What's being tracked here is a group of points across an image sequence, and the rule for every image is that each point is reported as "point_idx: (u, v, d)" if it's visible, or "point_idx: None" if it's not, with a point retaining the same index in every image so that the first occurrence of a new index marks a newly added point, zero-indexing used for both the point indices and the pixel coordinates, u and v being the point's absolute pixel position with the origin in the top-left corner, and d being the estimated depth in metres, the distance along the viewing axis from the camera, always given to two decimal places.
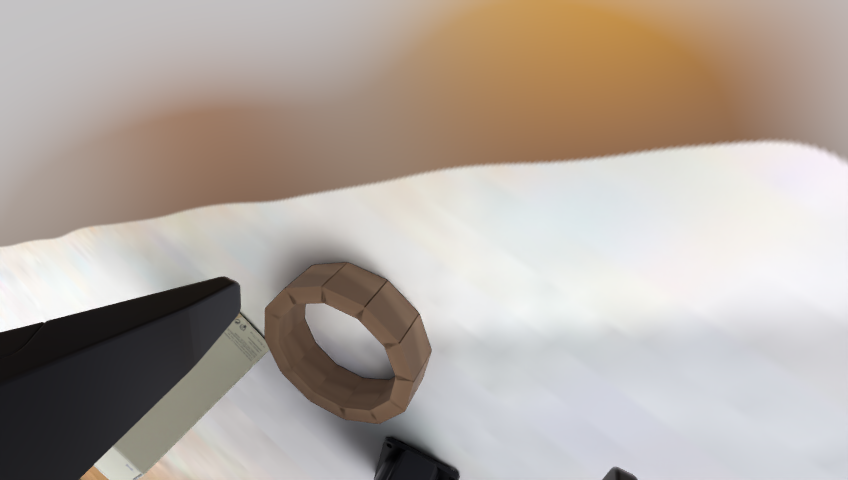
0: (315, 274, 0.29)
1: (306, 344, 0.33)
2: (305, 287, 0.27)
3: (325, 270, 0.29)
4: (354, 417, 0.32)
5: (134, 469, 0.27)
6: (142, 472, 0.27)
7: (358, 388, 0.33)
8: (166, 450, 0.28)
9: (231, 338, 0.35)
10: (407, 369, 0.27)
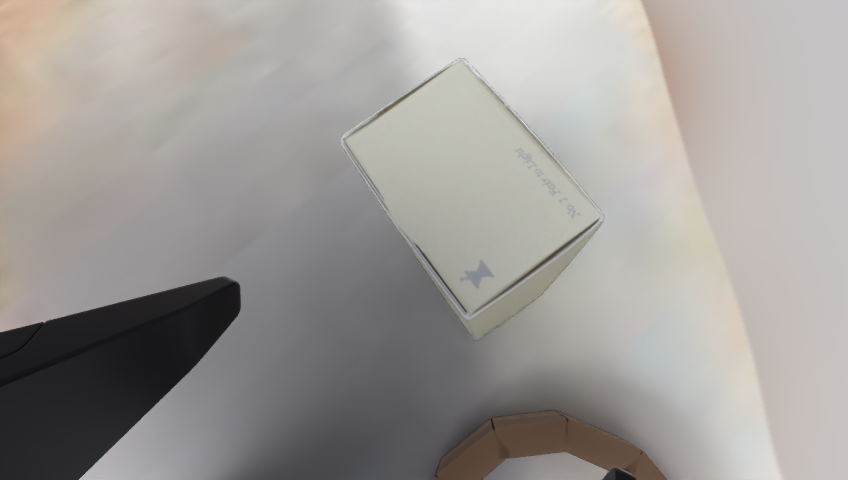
0: None
1: None
2: None
3: None
4: None
5: (477, 293, 0.10)
6: (472, 318, 0.10)
7: None
8: (471, 324, 0.12)
9: (525, 304, 0.20)
10: None
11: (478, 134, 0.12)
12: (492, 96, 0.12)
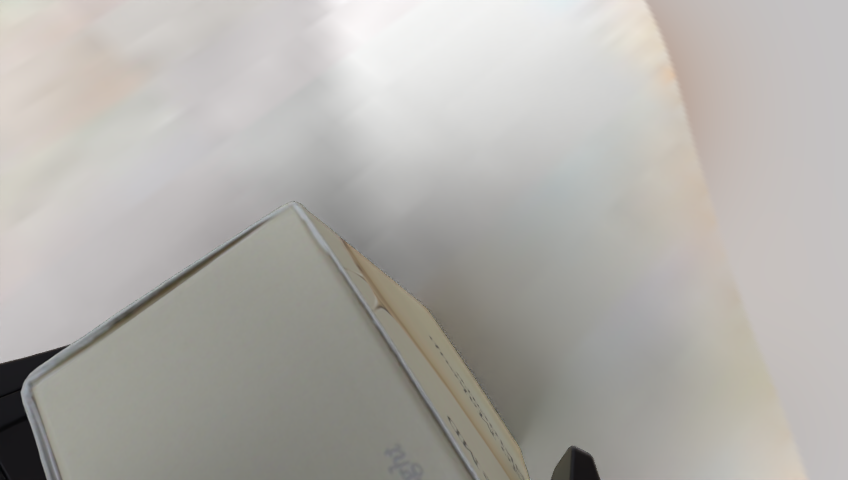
0: None
1: None
2: None
3: None
4: None
5: None
6: None
7: None
8: None
9: None
10: None
11: (305, 398, 0.05)
12: (350, 298, 0.05)
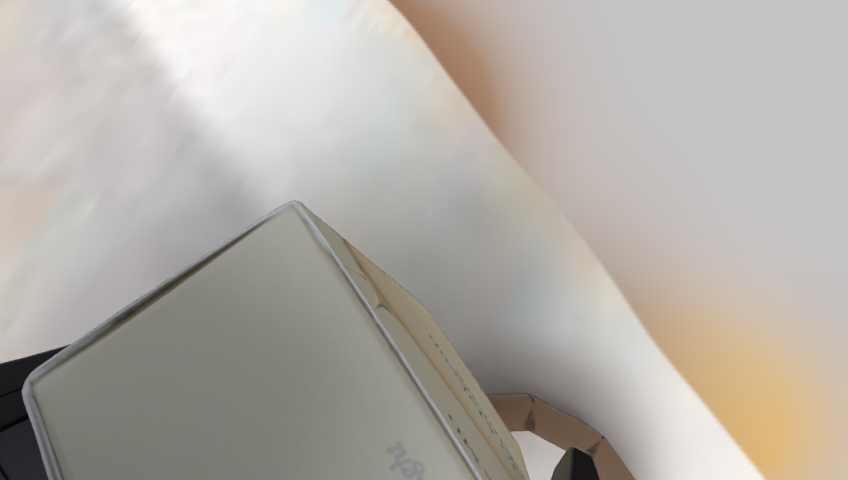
0: None
1: None
2: (632, 478, 0.17)
3: None
4: None
5: None
6: None
7: None
8: None
9: None
10: None
11: (306, 397, 0.05)
12: (350, 297, 0.05)
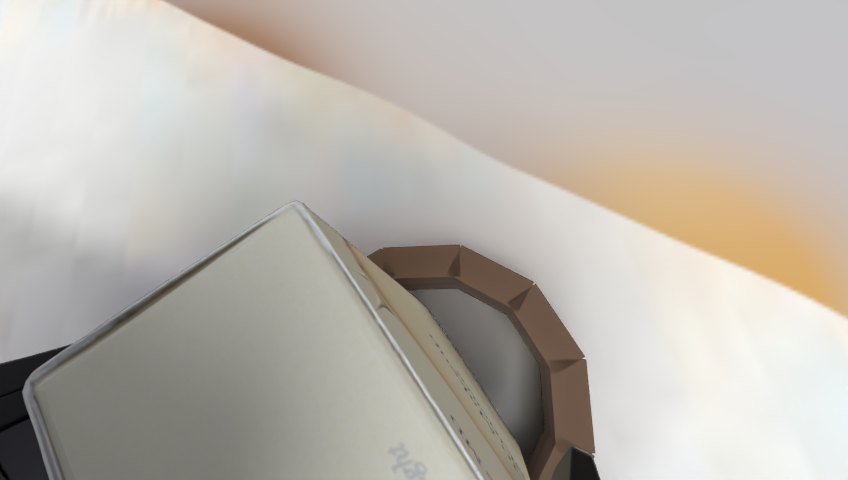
0: None
1: None
2: (502, 267, 0.16)
3: None
4: None
5: None
6: None
7: None
8: None
9: None
10: None
11: (309, 397, 0.05)
12: (354, 297, 0.05)
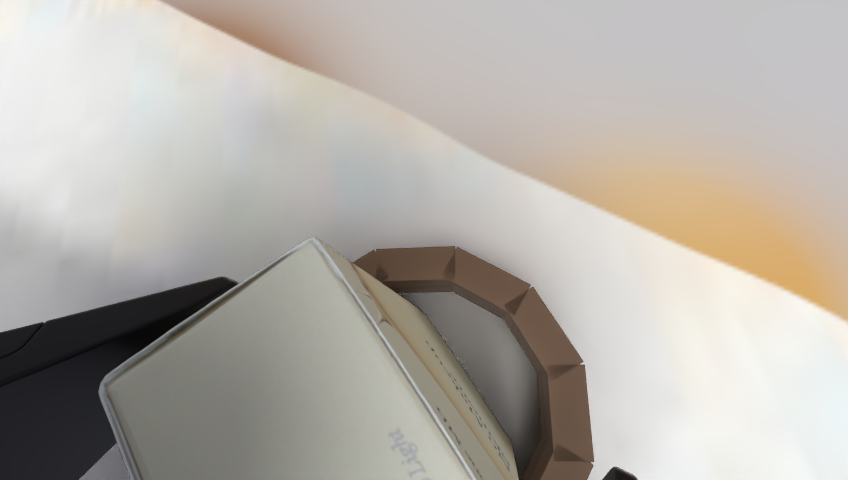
0: None
1: None
2: (499, 269, 0.16)
3: None
4: None
5: None
6: None
7: None
8: None
9: None
10: None
11: (326, 393, 0.06)
12: (360, 315, 0.07)
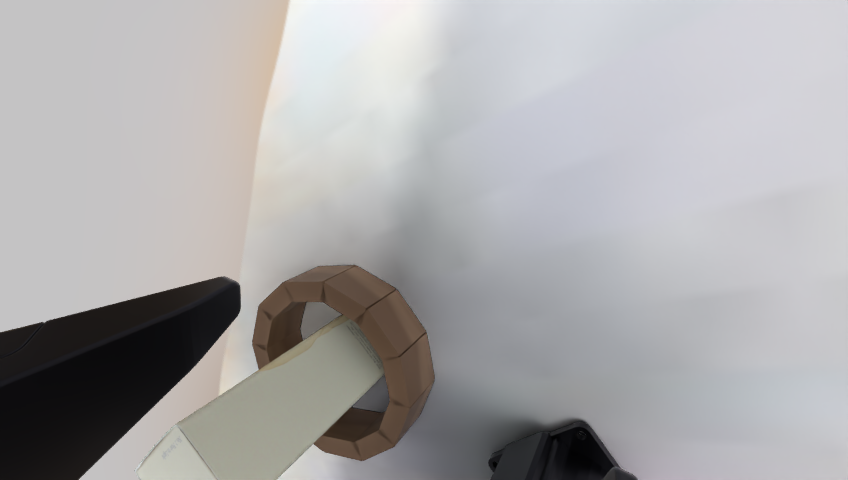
0: None
1: None
2: (256, 321, 0.28)
3: None
4: (394, 430, 0.24)
5: None
6: None
7: None
8: (274, 477, 0.18)
9: (354, 334, 0.25)
10: (351, 301, 0.23)
11: (162, 476, 0.19)
12: (146, 460, 0.19)
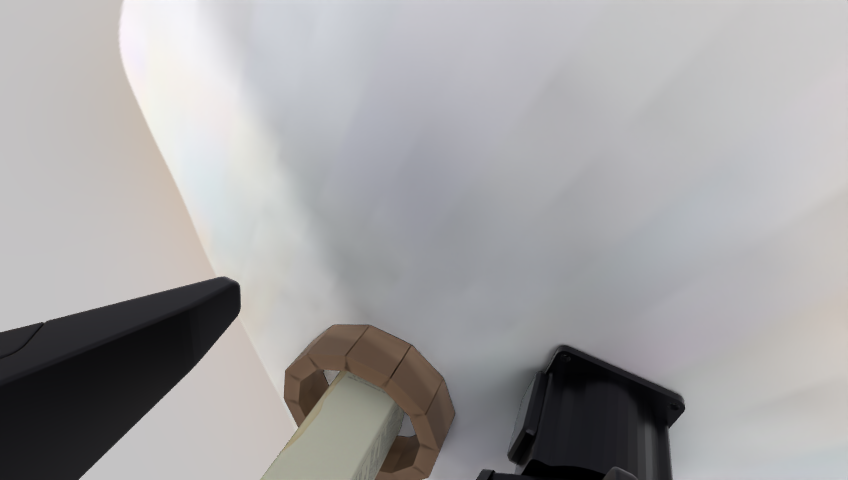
0: None
1: (398, 446, 0.32)
2: (291, 412, 0.31)
3: None
4: (429, 438, 0.27)
5: None
6: None
7: None
8: None
9: (357, 379, 0.28)
10: (332, 356, 0.27)
11: None
12: None
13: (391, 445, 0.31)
